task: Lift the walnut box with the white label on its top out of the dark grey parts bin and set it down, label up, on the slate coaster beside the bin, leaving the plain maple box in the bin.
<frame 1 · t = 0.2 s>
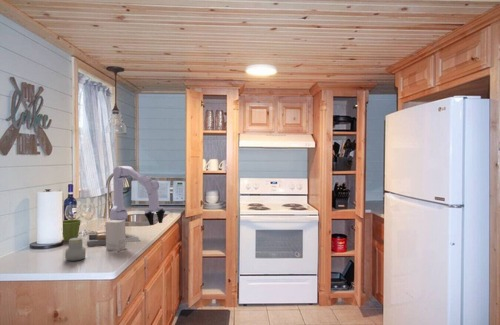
hand: (156, 223, 216), 10 cm above the worktop, tool pointing down, fingers open, 7 cm apart
air freshener: (75, 259, 178), on the worktop
box plain: (101, 240, 216), resting on parts bin
skincare box: (115, 250, 197), on the worktop
box stamped: (101, 243, 209), resting on parts bin
plant pot: (70, 240, 217), on the worktop
parts bin: (101, 242, 213), on the worktop
coaster: (129, 240, 219), on the worktop
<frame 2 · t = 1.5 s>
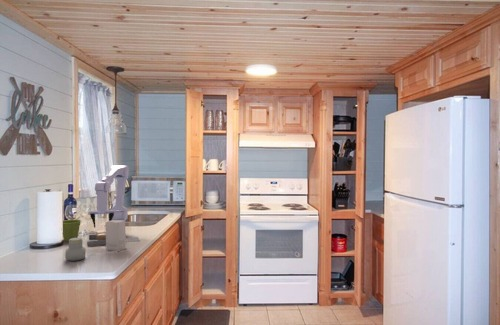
hand: (102, 226, 209), 10 cm above the worktop, tool pointing down, fingers open, 7 cm apart
nothing on the worktop moved.
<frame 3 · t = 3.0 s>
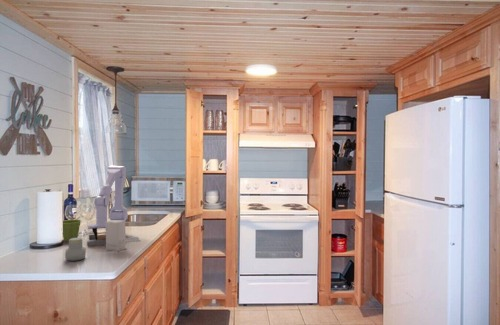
hand: (101, 241, 209), 2 cm above the worktop, tool pointing down, fingers closed on box stamped, 4 cm apart
box stamped: (101, 243, 209), resting on parts bin, touching gripper
everything else where it was.
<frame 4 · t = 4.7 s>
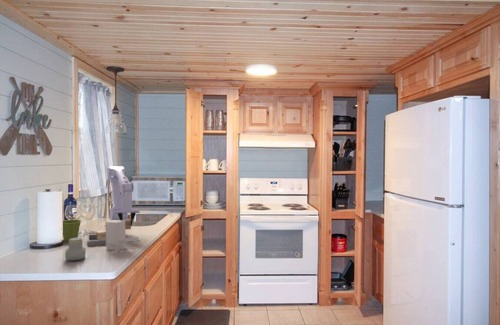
hand: (126, 225, 218), 9 cm above the worktop, tool pointing down, fingers closed on box stamped, 4 cm apart
box stamped: (126, 228, 217), point 7 cm above the worktop, touching gripper
everything else where it was.
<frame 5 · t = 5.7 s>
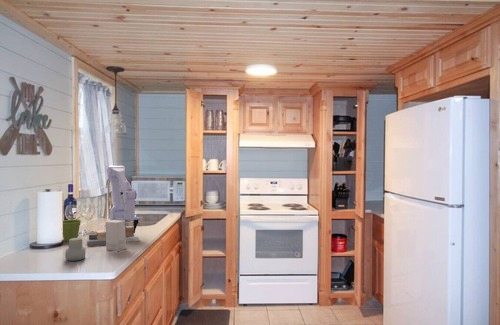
hand: (129, 233, 219), 4 cm above the worktop, tool pointing down, fingers closed on box stamped, 4 cm apart
box stamped: (129, 235, 218), point 3 cm above the worktop, touching gripper
everything else where it was.
when the fingers open (3 cm above the worktop, at t = 6.4 s): box stamped drops 1 cm, resting on coaster.
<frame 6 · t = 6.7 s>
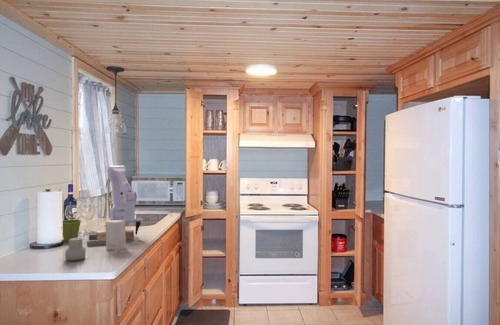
hand: (129, 234, 219), 3 cm above the worktop, tool pointing down, fingers open, 7 cm apart
box stamped: (129, 239, 219), point 1 cm above the worktop, touching coaster
everything else where it was.
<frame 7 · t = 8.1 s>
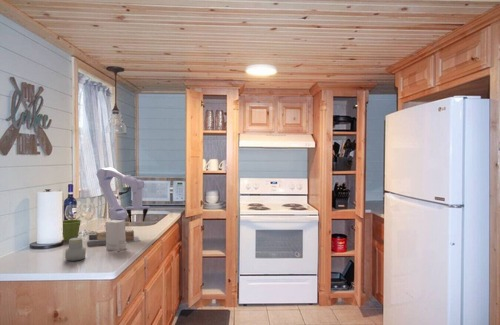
hand: (137, 221, 226), 10 cm above the worktop, tool pointing down, fingers open, 7 cm apart
nothing on the worktop moved.
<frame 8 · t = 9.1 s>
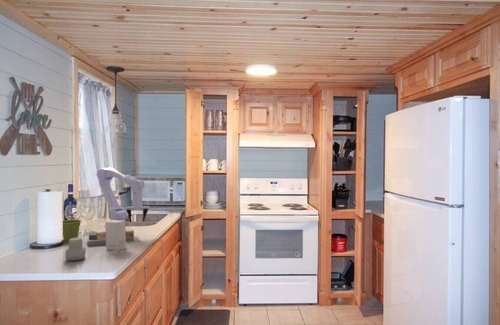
hand: (137, 221, 226), 10 cm above the worktop, tool pointing down, fingers open, 7 cm apart
nothing on the worktop moved.
at the end: box stamped inside the target area on the coaster (0.2 cm from its centre), point 0.6 cm above the coaster's base; box stamped tilted 0°; the gripper is holding nothing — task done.
